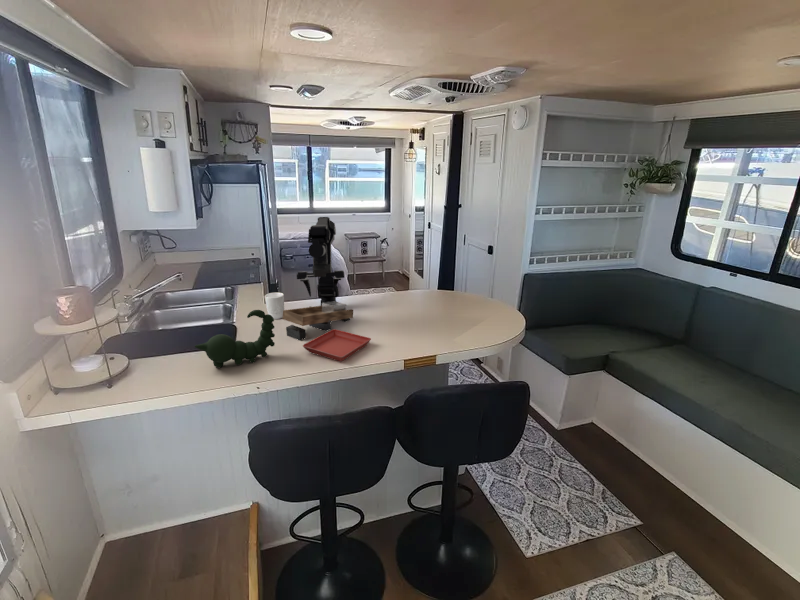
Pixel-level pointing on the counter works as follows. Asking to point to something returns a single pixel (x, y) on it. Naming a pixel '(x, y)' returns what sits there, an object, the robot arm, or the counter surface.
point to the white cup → (275, 304)
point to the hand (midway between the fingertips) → (321, 296)
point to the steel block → (333, 306)
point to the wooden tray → (314, 315)
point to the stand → (301, 333)
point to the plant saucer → (337, 344)
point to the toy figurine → (240, 344)
